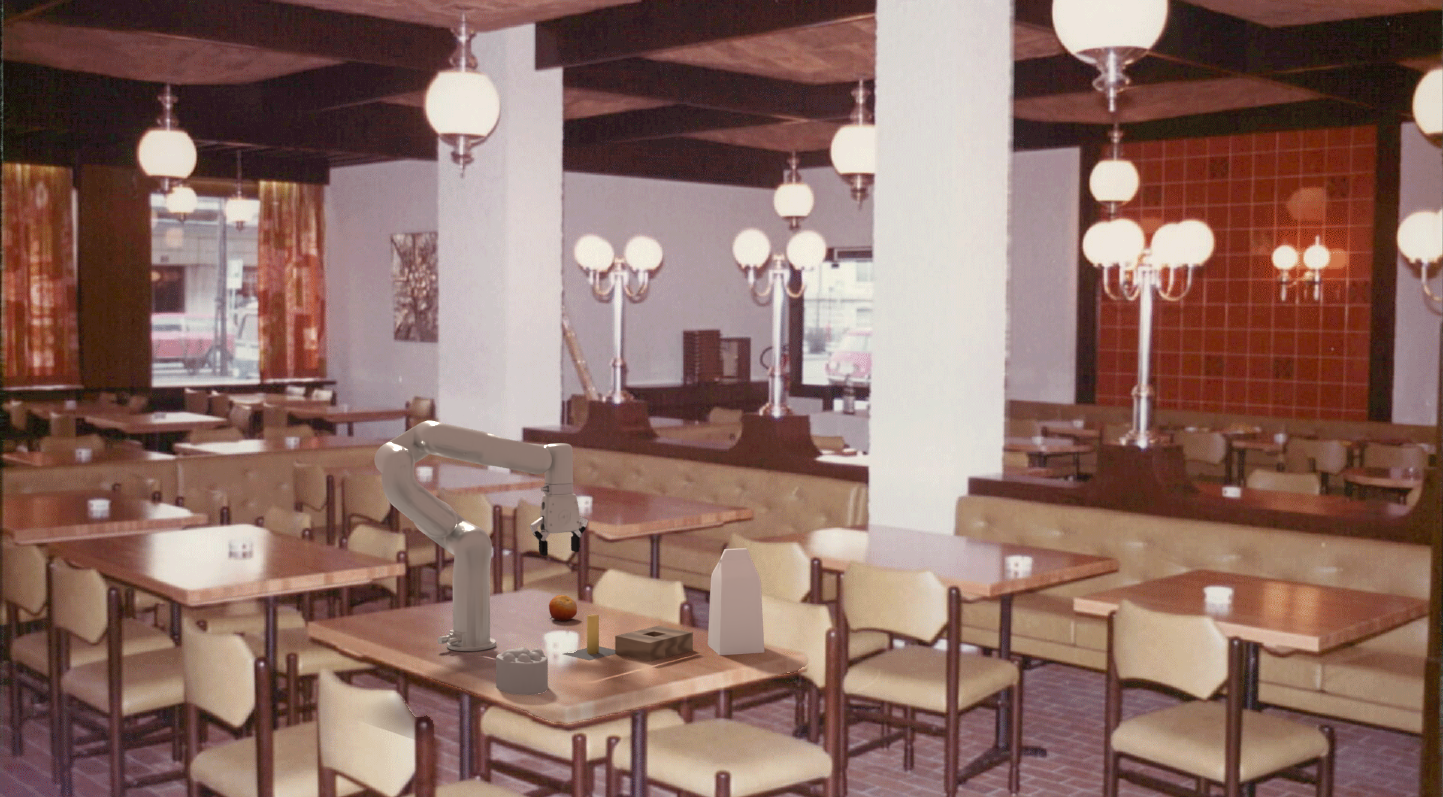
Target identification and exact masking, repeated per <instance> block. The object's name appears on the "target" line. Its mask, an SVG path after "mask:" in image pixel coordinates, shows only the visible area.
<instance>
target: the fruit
mask: <svg viewBox="0 0 1443 797" xmlns="http://www.w3.org/2000/svg"><path fill="white" fill-rule="evenodd" d="M548 611H549V614H550V616H551V617H550V618H549V619H550V620H551V619H553V620H555V621H557V622H558V621H560V622H566V621H569V620H571V619H573V618H575V616H577V613H578V606H577V602H576V601H575V600H574V599H573V598H572V597H570V596H568V595H563V594H559V595H556V596H554V597H553V598H552V599H551V600H550V601H549V603H548Z"/></svg>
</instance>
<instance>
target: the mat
mask: <svg viewBox="0 0 1443 797" xmlns="http://www.w3.org/2000/svg"><path fill="white" fill-rule="evenodd" d="M575 651H576V650H575ZM563 655H565V656H569V657H572V658H577V659H582V660H586V661H593V660H596V659H602V658H604V657H609V656H612V655H616V654H615V648H614V649H613V648H609V647H604V646H600V645H599V653H598V654H588V653H587V647H585V648H582V649H581V648H580V649H577V651H576V652H574V653H568V652H564V653H563Z"/></svg>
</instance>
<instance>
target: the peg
mask: <svg viewBox="0 0 1443 797" xmlns="http://www.w3.org/2000/svg"><path fill="white" fill-rule="evenodd" d="M599 621H600V615H599V614H587V615H586V648H587V653H588V654H598V653H599V646H600V622H599Z"/></svg>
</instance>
